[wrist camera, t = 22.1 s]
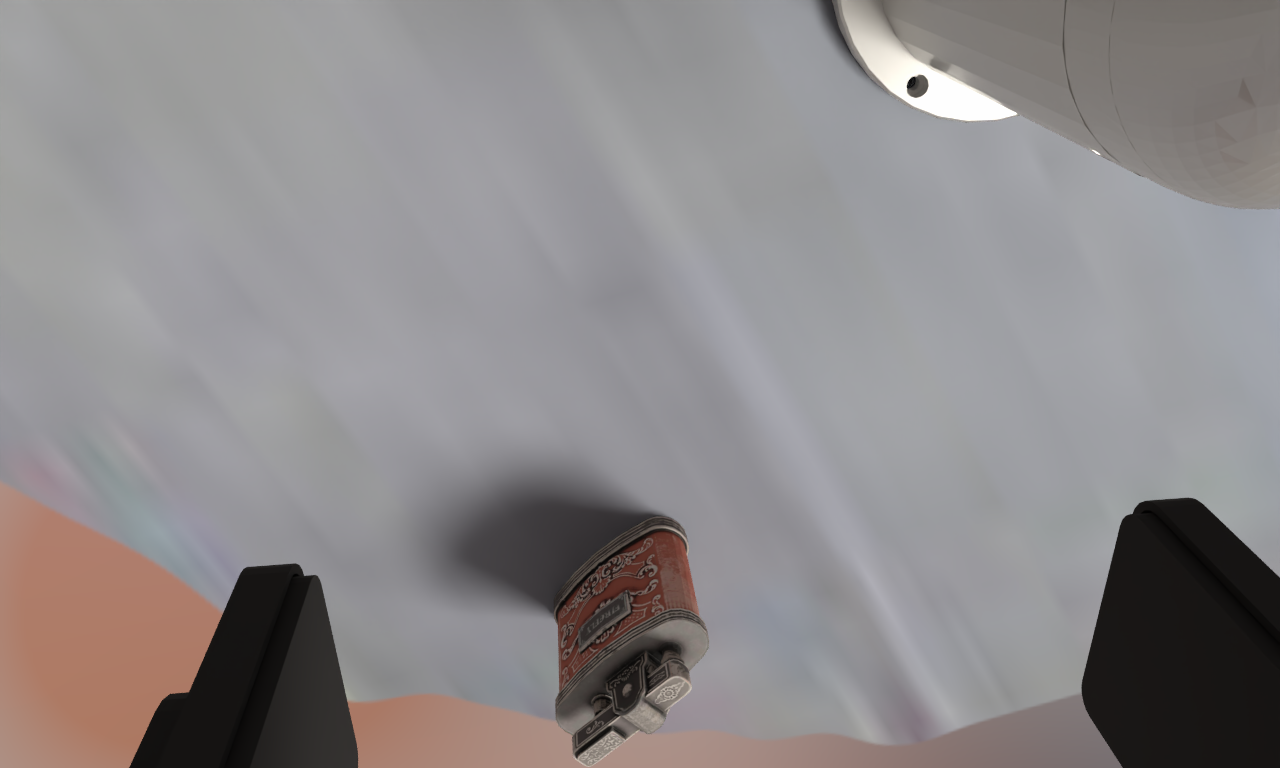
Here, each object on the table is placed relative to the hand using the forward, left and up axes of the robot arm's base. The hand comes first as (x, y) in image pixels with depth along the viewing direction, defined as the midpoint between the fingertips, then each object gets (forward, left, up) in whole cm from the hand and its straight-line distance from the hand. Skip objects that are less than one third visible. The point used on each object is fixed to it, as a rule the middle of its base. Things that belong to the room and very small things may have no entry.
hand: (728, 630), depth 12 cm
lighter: (0, +23, -31) cm, 38 cm away
